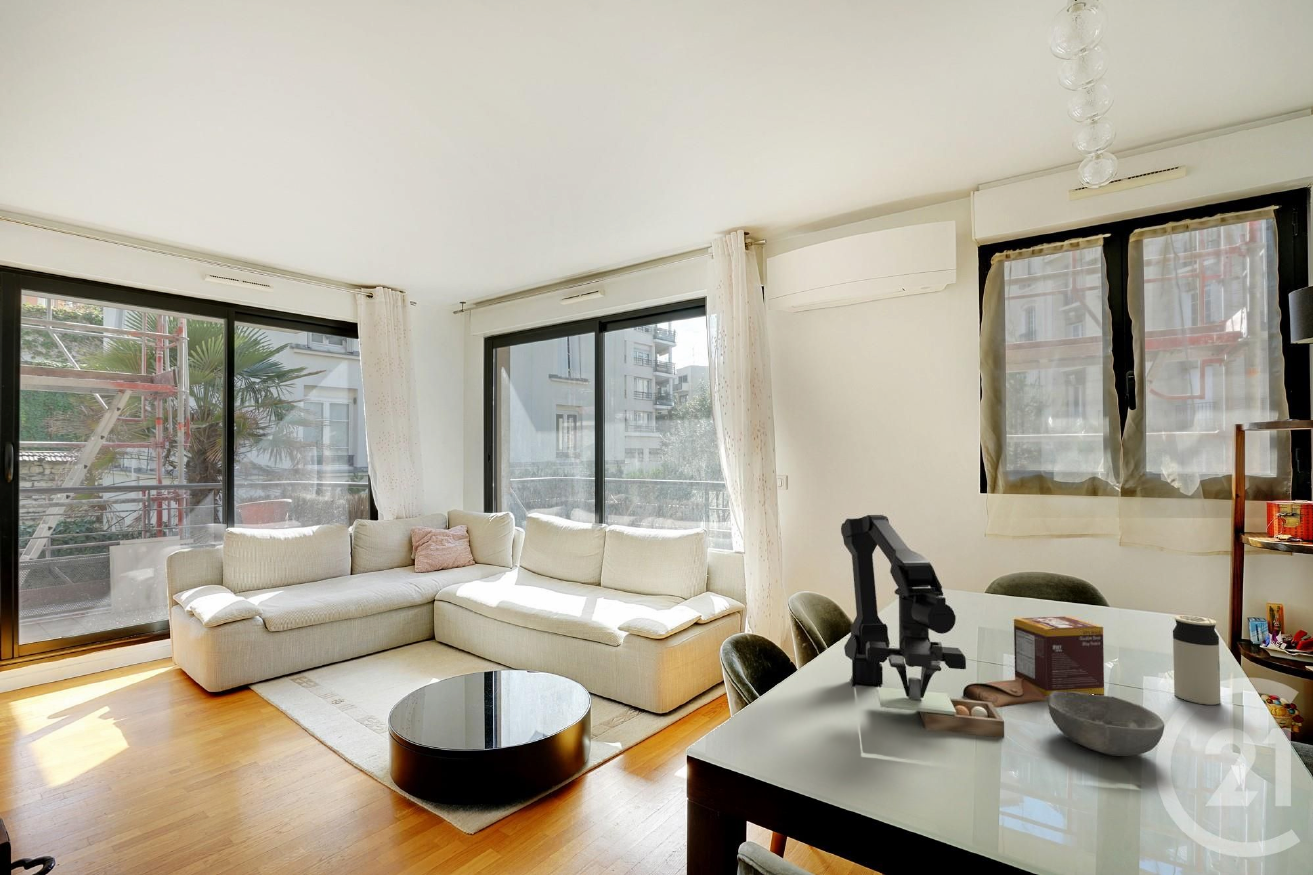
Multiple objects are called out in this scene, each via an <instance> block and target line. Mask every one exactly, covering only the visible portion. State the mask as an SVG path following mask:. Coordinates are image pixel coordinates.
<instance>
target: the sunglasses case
mask: <svg viewBox="0 0 1313 875" xmlns="http://www.w3.org/2000/svg"><path fill="white" fill-rule="evenodd" d="M962 694H963V695H962V697H965V698H967V699H968V700H972V701H983V702H991V703H992V704H993V706H994V707H995V709H997V708H1003V707H1004V708H1005V707H1010V706H1011V707H1012V706H1019V705H1025V704H1026V705H1027V704H1033V703H1041V702H1042V703H1043V702H1048V697H1047V696H1044V695H1042V694H1041V693H1040V692H1039V691H1038V690H1037V689H1036V688H1034V687H1033V686H1032V685H1031V684H1030V683H1029V682H1027V681H1026V678H1021V679H1018V680H1015V679H1012V680H1011V679H1009V680H999V681H998V680H997V681H992V682H991V681H990V682H983V683H982V682H976V683H970V684H968V685H966V686H965V687H964V689H963V692H962Z"/></svg>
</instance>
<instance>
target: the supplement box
mask: <svg viewBox="0 0 1313 875" xmlns="http://www.w3.org/2000/svg"><path fill="white" fill-rule="evenodd" d="M1013 639H1014V640H1013V646H1014V680H1018V679H1021V678H1026V681H1027V682H1029V683H1030V684H1031V685H1032V686H1033V687H1034V688H1036V689H1037V690H1038V691H1039V692H1040V693H1041V694H1042V695H1044V696H1045V697H1047V698H1048V697H1049V695H1050V694H1051V693H1052V692H1054V691H1058V692H1059V691H1062V692H1079V693H1085V694H1101V695H1105V668H1104V667H1105V666H1104V665H1105V661H1104V660H1105V659H1104V657H1105V656H1104V626H1100V625H1097V624H1095V623H1090V622H1087V621H1084V620H1082V619H1081V620H1080V619H1078V618H1075V617H1072V616H1068V615H1066V616H1064V615H1063V616H1047V617H1045V616H1043V617H1041V616H1039V617H1021V618H1019V617H1017V618H1014V619H1013Z"/></svg>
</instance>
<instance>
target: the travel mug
mask: <svg viewBox="0 0 1313 875" xmlns="http://www.w3.org/2000/svg"><path fill="white" fill-rule="evenodd" d="M1173 619H1174V620H1175V627H1174V628H1173V630H1172V651H1173V653H1172V654H1173V656H1172V657H1173V689H1174V690H1173V691H1174V695H1175V696H1176V697H1177V698H1179V699H1181V700H1183V699H1184V700H1183V701H1186V700H1187V701H1186V702H1189V701H1190V702H1189V703H1193V702H1195V703H1194V704H1197V703H1198V705H1203V704H1205V705H1207V706H1210V705H1211V706H1215V705H1219V704H1221V703H1222V702H1221V701H1222V700H1221V675H1220V674H1221V673H1220V672H1221V671H1220V668H1221V667H1220V666H1221V665H1220V636H1219V635H1218V633H1217V632H1216V631H1215V629H1216V625H1217V624H1218V622H1217V621H1216V620H1215V619H1210V618H1207V617H1202V616H1196V615H1185V614H1183V615H1182V614H1181V615H1180V614H1179V615H1174V616H1173ZM1205 705H1204V706H1205Z"/></svg>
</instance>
